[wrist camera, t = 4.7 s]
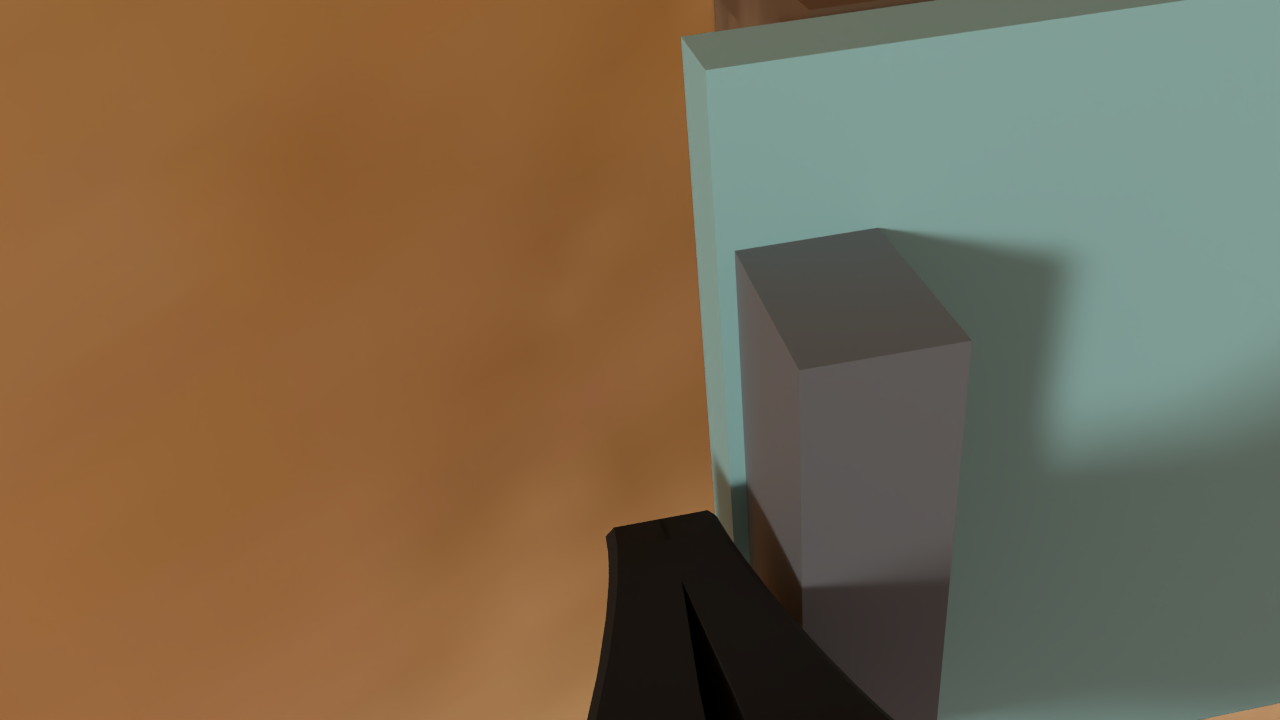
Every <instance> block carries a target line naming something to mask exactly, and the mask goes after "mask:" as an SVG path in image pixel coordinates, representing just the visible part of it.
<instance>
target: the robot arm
mask: <svg viewBox="0 0 1280 720" xmlns="http://www.w3.org/2000/svg"><path fill="white" fill-rule="evenodd" d="M606 541H607V548H608V558H609V587H608V600H607V612H606V621H605V628H604V635H603V641H602V648H601V655H600V662H599V668H598V673H597V678H596V683H595V687H594V692H593V696H592V701H591V705H590V710H589V714H588V719H587V720H894V719H893V718H891V717H890V716H889V715H888V714H887V713H886V712H885V711H884V710H883V709H881V708H880V707H879V706H878V705H877V704H876V703H875V702H874V701H873V700H872V699H871V698H870V697H869V696H867V695H866V694H865V693H864V692H863V691H862V690H861V689H860V688H859V687H858V686H857V685H856V684H855V683H854V682H853V681H852V680H851V679H850V678H849V677H848V676H847V675H846V674H845V673H844V672H843V671H842V670H841V669H840V668H839V667H838V666H837V665H836V664H835V663H834V662H833V661H832V660H831V659H830V658H829V657H828V656H827V655H826V654H825V653H824V652H823V650H822V649H821V648H820V647H819V646H818V645H817V644H816V643H815V642H814V641H813V640H812V639H811V638H810V637H809V635H808V634H807V633H806V632H805V631H804V630H803V629H802V627H801V626H800V625H799V624H798V623H797V622H796V621H795V619H794V618H793V617H792V616H791V615H790V614H789V613H788V611H787V610H786V609H785V608H784V607H783V606H782V605H781V603H780V602H779V601H778V600H777V599H776V597H775V596H774V595H773V594H772V593H771V591H770V590H769V589H768V588H767V587H766V585H765V584H764V583H763V581H762V580H761V579H760V578H759V576H758V575H757V574H756V572H755V571H754V570H753V569H752V567H751V566H750V565H749V563H748V562H747V561H746V559H745V558H744V557H743V555H742V554H741V552H740V551H739V550H738V548H737V547H736V545H735V544H734V542H733V541H732V540H731V538H730V537H729V535H728V533H727V532H726V530H725V529H724V527H723V526H722V524H721V522H720V521H719V519H718V517H717V516H716V515H714V514H713V513H711V512H709V511H708V510H707V511H701V512H696V513H690V514H685V515H680V516H674V517H669V518H663V519H658V520H653V521H647V522H642V523H636V524H631V525H626V526H620V527H615V528H613V529H612V530H611V531H610V533H609V534H608V535H607V536H606Z"/></svg>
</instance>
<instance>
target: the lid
mask: <svg viewBox="0 0 1280 720" xmlns="http://www.w3.org/2000/svg"><path fill="white" fill-rule="evenodd" d="M681 43H682V57H683V71H684V84H685V98H686V112H687V126H688V140H689V154H690V168H691V182H692V196H693V210H694V224H695V238H696V252H697V266H698V280H699V294H700V307H701V321H702V335H703V349H704V363H705V377H706V391H707V405H708V419H709V433H710V447H711V461H712V475H713V489H714V503H715V515H716V516H717V517H718V519H719V521H720V522H721V524H722V526H723V527H724V529H725V530H726V532H727V533H728V535H729V537H730V538H731V540H732V541H733V542H734V544H735V545H736V547H737V548H738V550H739V551H740V552H741V554H742V555H743V557H744V558H745V559H746V561H747V562H748V563H749V565H750V566H751V567H752V569H753V570H754V571H755V572H756V574H757V575H758V576H759V578H760V579H761V580H762V581H763V583H764V584H765V585H766V587H767V588H768V589H769V590H770V591H771V593H772V594H773V595H774V596H775V597H776V599H777V600H778V601H779V602H780V603H781V605H782V606H783V607H784V608H785V609H786V610H787V611H788V613H789V614H790V615H791V616H792V617H793V618H794V619H795V621H796V622H797V623H798V624H799V625H800V626H801V627H802V629H803V630H804V631H805V632H806V633H807V634H808V635H809V637H810V638H811V639H812V640H813V641H814V642H815V643H816V644H817V645H818V646H819V647H820V648H821V649H822V650H823V652H824V653H825V654H826V655H827V656H828V657H829V658H830V659H831V660H832V661H833V662H834V663H835V664H836V665H837V666H838V667H839V668H840V669H841V670H842V671H843V672H844V673H845V674H846V675H847V676H848V677H849V678H850V679H851V680H852V681H853V682H854V683H855V684H856V685H857V686H858V687H859V688H860V689H861V690H862V691H863V692H864V693H865V694H866V695H867V696H869V697H870V698H871V699H872V700H873V701H874V702H875V703H876V704H877V705H878V706H879V707H880V708H881V709H883V710H884V711H885V712H886V713H887V714H888V715H889V716H890V717H891V718H893V719H894V720H1201V719H1206V718H1211V717H1215V716H1220V715H1225V714H1230V713H1235V712H1239V711H1244V710H1249V709H1254V708H1258V707H1263V706H1268V705H1273V704H1277V703H1280V0H934V1H927V2H920V3H913V4H906V5H899V6H892V7H885V8H878V9H871V10H864V11H857V12H850V13H843V14H836V15H829V16H822V17H815V18H808V19H801V20H794V21H787V22H780V23H773V24H766V25H759V26H752V27H745V28H738V29H731V30H724V31H717V32H710V33H703V34H696V35H689V36H682V37H681Z"/></svg>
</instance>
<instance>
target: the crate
mask: <svg viewBox="0 0 1280 720" xmlns="http://www.w3.org/2000/svg"><path fill="white" fill-rule="evenodd" d="M927 1H934V0H714V10H715V28H716V32H717V31H724V30H731V29H738V28H745V27H752V26H759V25H766V24H773V23H780V22H787V21H794V20H801V19H808V18H815V17H822V16H829V15H836V14H843V13H850V12H857V11H864V10H871V9H878V8H885V7H892V6H899V5H906V4H913V3H920V2H927Z"/></svg>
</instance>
